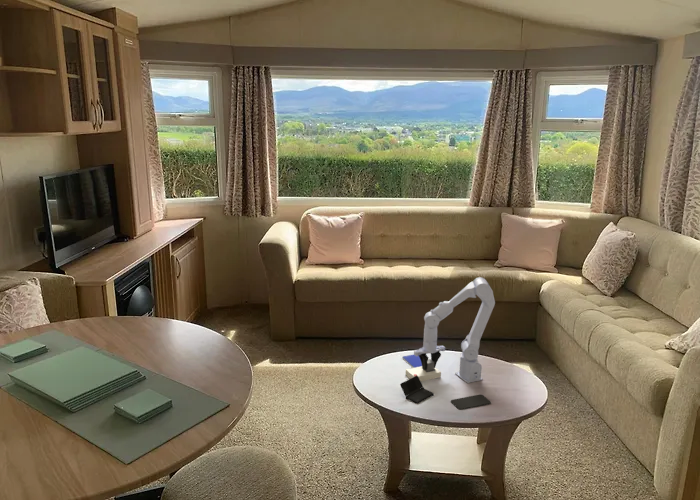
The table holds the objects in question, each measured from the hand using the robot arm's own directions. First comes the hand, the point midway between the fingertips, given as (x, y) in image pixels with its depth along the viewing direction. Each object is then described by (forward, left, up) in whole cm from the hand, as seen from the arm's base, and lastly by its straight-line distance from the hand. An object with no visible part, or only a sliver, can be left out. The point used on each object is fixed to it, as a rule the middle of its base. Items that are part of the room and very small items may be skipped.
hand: (428, 368), depth 238 cm
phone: (-27, -3, -3) cm, 27 cm away
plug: (0, 0, -3) cm, 3 cm away
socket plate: (0, +3, -3) cm, 4 cm away
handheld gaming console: (-14, +14, -3) cm, 20 cm away
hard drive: (+12, -1, -4) cm, 13 cm away
